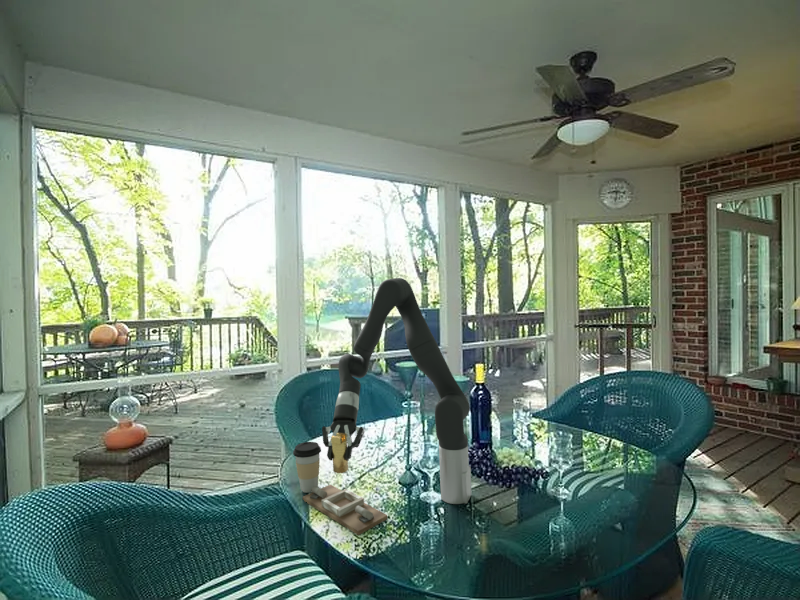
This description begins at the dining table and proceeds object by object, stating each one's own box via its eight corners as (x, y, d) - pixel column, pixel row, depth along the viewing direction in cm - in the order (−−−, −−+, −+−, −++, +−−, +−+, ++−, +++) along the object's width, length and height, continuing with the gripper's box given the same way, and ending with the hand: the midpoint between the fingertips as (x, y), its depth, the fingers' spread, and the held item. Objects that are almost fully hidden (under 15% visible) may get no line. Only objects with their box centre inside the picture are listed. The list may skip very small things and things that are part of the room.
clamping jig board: (387, 519, 134) (386, 506, 133) (358, 535, 126) (357, 522, 126) (330, 487, 155) (329, 477, 154) (302, 500, 147) (302, 488, 147)
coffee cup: (313, 479, 161) (310, 438, 160) (328, 487, 155) (326, 445, 154) (290, 489, 155) (287, 446, 154) (305, 498, 148) (302, 454, 147)
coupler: (350, 467, 141) (349, 433, 140) (343, 474, 137) (341, 438, 136) (338, 465, 143) (336, 431, 142) (330, 471, 138) (328, 437, 138)
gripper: (322, 403, 147) (312, 454, 136) (365, 403, 145) (359, 455, 134) (328, 413, 152) (319, 463, 141) (369, 413, 150) (363, 464, 139)
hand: (338, 459), depth 137 cm, fingers closed on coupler, 4 cm apart
